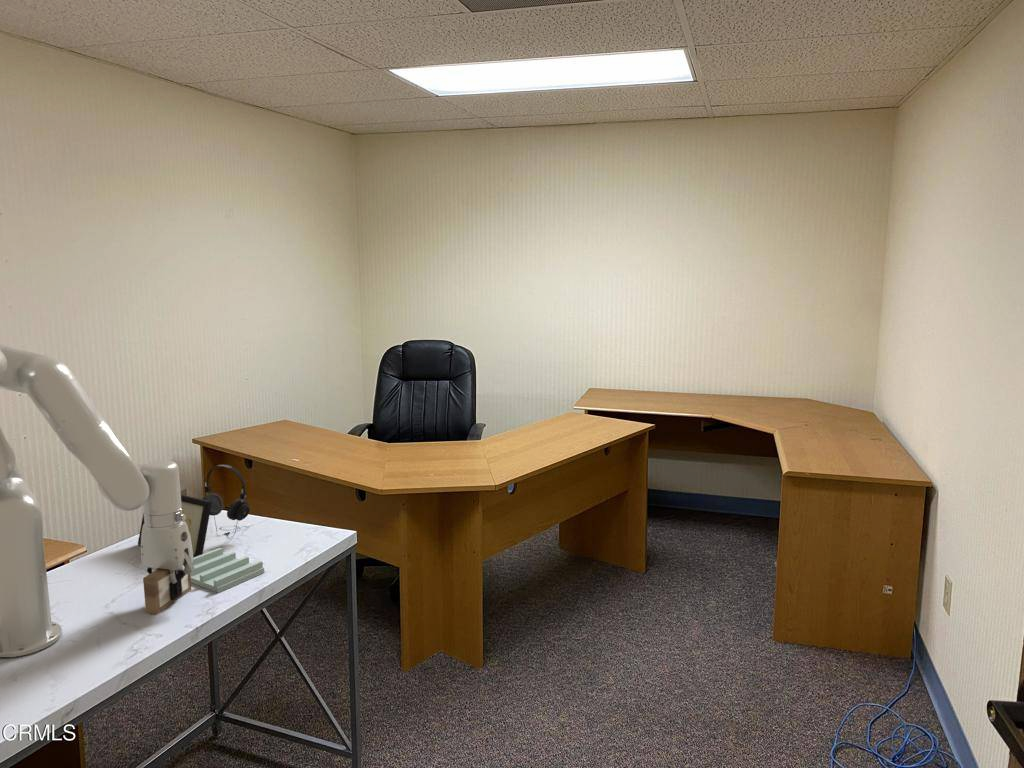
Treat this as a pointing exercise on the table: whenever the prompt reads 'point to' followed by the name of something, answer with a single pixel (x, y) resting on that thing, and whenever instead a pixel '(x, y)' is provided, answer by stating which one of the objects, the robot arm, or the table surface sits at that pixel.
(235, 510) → the headphones
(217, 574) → the display rail
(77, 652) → the table surface
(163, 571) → the long brown rectangular block
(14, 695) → the table surface
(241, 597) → the table surface
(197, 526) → the picture frame
